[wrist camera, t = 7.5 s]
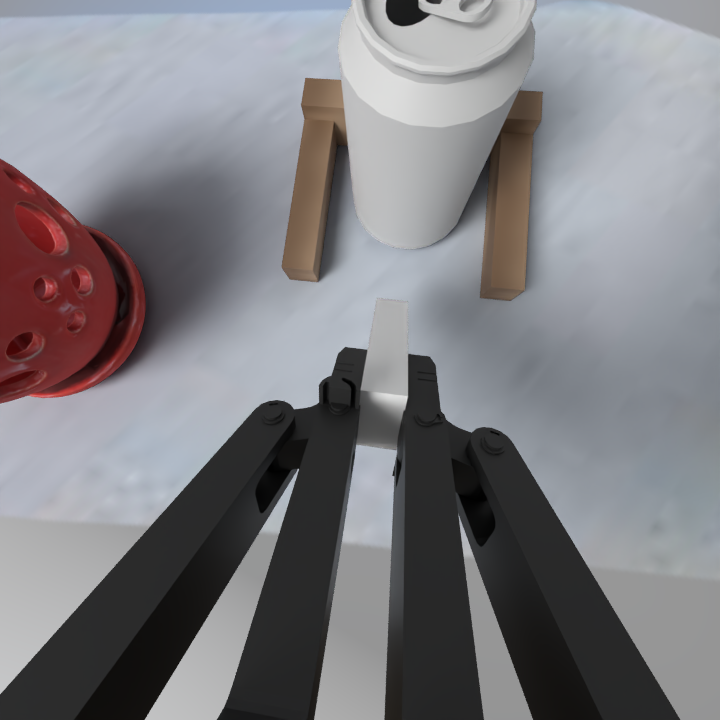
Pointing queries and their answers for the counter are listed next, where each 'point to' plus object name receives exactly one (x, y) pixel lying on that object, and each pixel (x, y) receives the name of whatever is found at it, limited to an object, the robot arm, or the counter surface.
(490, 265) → the walnut frame
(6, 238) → the plant pot
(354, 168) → the can
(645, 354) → the counter surface
